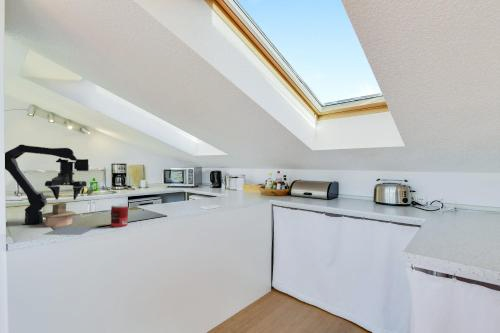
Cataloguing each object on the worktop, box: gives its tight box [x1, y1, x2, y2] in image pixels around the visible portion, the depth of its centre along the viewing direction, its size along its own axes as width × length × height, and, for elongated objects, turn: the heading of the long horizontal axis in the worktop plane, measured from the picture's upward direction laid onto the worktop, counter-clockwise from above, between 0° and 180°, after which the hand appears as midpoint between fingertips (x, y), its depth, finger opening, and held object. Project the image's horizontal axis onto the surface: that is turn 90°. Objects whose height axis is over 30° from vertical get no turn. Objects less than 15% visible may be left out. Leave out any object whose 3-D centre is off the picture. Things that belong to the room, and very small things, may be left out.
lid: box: [42, 202, 77, 219], centre depth 133 cm, size 14×14×6 cm
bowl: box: [44, 216, 73, 228], centre depth 133 cm, size 10×10×5 cm
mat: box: [42, 225, 100, 236], centre depth 122 cm, size 16×16×1 cm
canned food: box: [110, 203, 129, 228], centre depth 133 cm, size 8×8×11 cm
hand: (65, 199), depth 140 cm, fingers open, 9 cm apart
